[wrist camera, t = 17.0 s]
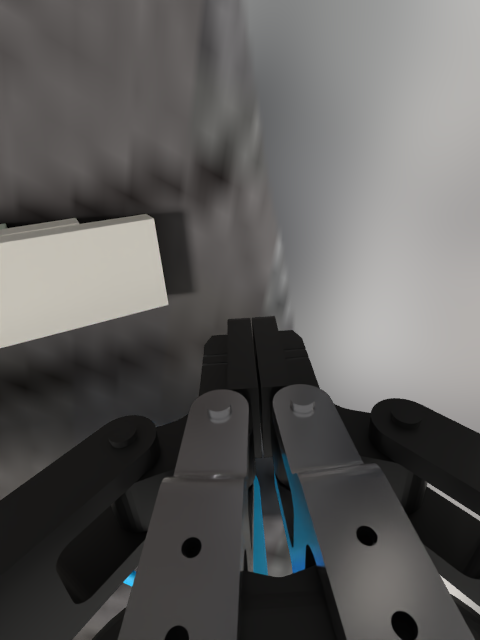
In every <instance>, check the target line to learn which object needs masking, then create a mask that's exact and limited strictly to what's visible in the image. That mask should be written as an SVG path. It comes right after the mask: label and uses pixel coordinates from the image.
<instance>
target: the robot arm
mask: <svg viewBox="0 0 480 640" xmlns="http://www.w3.org/2000/svg"><path fill="white" fill-rule="evenodd" d="M252 331H253V338H252ZM260 423H261V432H262V441H263V451H264V457H273V463H274V478H275V488H276V492H277V497H278V502H279V506H280V511H281V515H282V520H283V524H284V529H285V534H286V538H287V543H288V547H289V552H290V557H291V563H292V570H293V574H290V575H288V576H285V577H272V576H268V575H263V574H259V573H254V572H253V539H254V479H255V476H256V467H255V458H262V453H261V433H260ZM427 483H429V484H431V485H432V486H434V487H436V488H437V489H439V490H440V491H442V492H443V493H445V494H447V495H448V496H450V497H451V498H453V499H454V500H456V501H458V502H459V503H461V504H462V505H464V506H465V507H467V508H469V509H470V510H471V511H473V512H475V513H476V514H478V515H479V516H480V434H479V433H477V432H475V431H473V430H471V429H469V428H467V427H465V426H463V425H461V424H459V423H457V422H455V421H453V420H451V419H449V418H447V417H445V416H443V415H441V414H439V413H437V412H435V411H433V410H431V409H429V408H427V407H425V406H423V405H421V404H418V403H416V402H413V401H410V400H406V399H395V398H393V399H386V400H383V401H380V402H378V403H377V404H376V405H375V406H374V407H373V409H372V411H371V413H367V412H361V411H355V410H349V409H345V408H342V407H340V406H337V405H335V404H334V403H333V401H332V400H331V398H330V396H329V395H328V394H327V393H326V392H324V391H323V390H321V389H320V388H319V385H318V382H317V380H316V377H315V374H314V371H313V368H312V365H311V362H310V360H309V358H308V354H307V351H306V350H305V346H304V343H303V340H302V338H301V337H300V336H299V335H298V334H296V333H295V332H294V331H293V330H287V331H278V328H277V324H276V320H275V316H269V317H255V318H252V330H251V321H250V318H242V319H228V335H216V336H212V337H211V338H210V339H209V340H208V341H207V343H206V344H205V346H204V357H203V366H202V374H201V383H200V392H199V397H198V398H197V399H196V400H195V401H194V402H193V403H192V405H191V407H190V410H189V414H188V415H186V416H185V417H183V418H182V419H180V420H178V421H175V422H172V423H169V424H166V425H163V426H160V427H157V428H156V427H155V425H154V423H153V422H152V421H151V420H150V419H148V418H146V417H143V416H137V415H132V416H125V417H121V418H118V419H115V420H113V421H111V422H109V423H108V424H106V425H104V426H103V427H102V428H100V429H99V430H98V431H96V432H95V433H93V434H92V435H91V436H89V437H88V438H86V439H85V440H84V441H82V442H81V443H80V444H78V445H77V446H75V447H74V448H73V449H71V450H70V451H68V452H67V453H66V454H64V455H63V456H61V457H60V458H59V459H57V460H56V461H55V462H53V463H52V464H50V465H49V466H48V467H46V468H45V469H43V470H42V471H41V472H39V473H38V474H36V475H35V476H34V477H32V478H31V479H30V480H28V481H27V482H25V483H24V484H23V485H21V486H20V487H18V488H17V489H16V490H14V491H13V492H12V493H10V494H9V495H7V496H6V497H5V498H3V499H2V500H0V640H72V639H73V638H74V637H75V636H76V635H77V633H78V632H79V631H80V630H81V629H82V628H83V627H84V626H85V624H86V623H87V622H88V621H89V620H90V619H91V618H92V617H93V615H94V614H95V613H96V612H97V611H98V610H99V609H100V608H101V606H102V605H103V604H104V603H105V602H106V601H107V600H108V599H109V597H110V596H111V595H112V594H113V593H114V592H115V591H116V590H117V589H118V587H119V586H120V585H121V584H122V583H123V582H124V581H125V580H126V578H127V577H128V576H129V575H130V574H131V573H132V572H133V571H134V569H135V568H136V567H137V566H138V568H137V571H136V575H135V578H134V582H133V586H132V589H131V593H130V597H129V600H128V604H127V607H126V608H124V609H123V610H122V611H121V612H120V613H118V614H117V615H116V616H115V617H114V618H112V619H111V620H110V621H109V622H108V623H107V624H106V625H105V626H104V627H103V628H102V629H101V630H100V631H99V632H98V633H97V634H96V635H95V637H94V638H93V639H92V640H480V615H479V614H478V613H477V612H476V611H474V610H473V609H472V608H471V607H469V606H468V605H466V604H465V603H464V602H462V601H461V600H459V599H458V598H456V597H455V596H453V595H451V594H450V593H449V591H448V589H447V588H446V586H445V584H444V582H443V580H442V578H441V577H440V575H441V576H442V577H443V578H445V579H446V580H447V581H449V582H450V583H451V584H452V585H453V586H455V587H456V588H457V589H458V590H460V591H461V592H462V593H463V594H465V595H466V596H467V597H468V598H470V599H471V600H472V601H473V602H475V603H476V604H477V605H478V606H480V521H479V520H477V519H476V518H474V517H473V516H471V515H470V514H468V513H467V512H465V511H464V510H462V509H460V508H459V507H457V506H456V505H454V504H453V503H451V502H450V501H448V500H447V499H445V498H444V497H442V496H440V495H439V494H437V493H436V492H434V491H433V490H431V489H430V488H428V487H427ZM439 574H440V575H439Z"/></svg>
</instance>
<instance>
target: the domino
mask: <svg viewBox="0 0 480 640" xmlns="http://www.w3.org/2000/svg"><path fill="white" fill-rule="evenodd" d="M165 305H168V299H167V293H166V287H165V281H164V275H163V269H162V263H161V258H160V252H159V246H158V240H157V234H156V228H155V222H154V218H152V217H150V216H149V215H147V214H142V215H135V216H129V217H122V218H116V219H109V220H103V221H96V222H90V223H83V224H77V225H70V226H63V227H57V228H50V229H44V230H37V231H31V232H24V233H18V234H11V235H5V236H0V348H3V347H7V346H11V345H15V344H19V343H23V342H26V341H30V340H34V339H38V338H42V337H46V336H50V335H53V334H57V333H61V332H65V331H69V330H73V329H77V328H80V327H84V326H88V325H92V324H96V323H100V322H104V321H108V320H111V319H115V318H119V317H123V316H127V315H131V314H135V313H138V312H142V311H146V310H150V309H154V308H158V307H162V306H165Z"/></svg>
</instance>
